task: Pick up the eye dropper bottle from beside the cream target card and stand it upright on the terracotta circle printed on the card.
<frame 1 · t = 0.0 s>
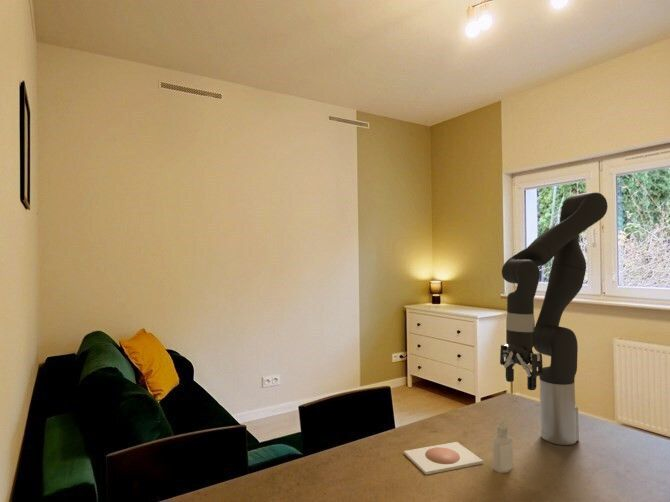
hand: (520, 385, 118), 17 cm above the table, tool pointing down, fingers open, 8 cm apart
target card: (442, 458, 112), on the table
eye dropper bottle: (503, 469, 106), on the table
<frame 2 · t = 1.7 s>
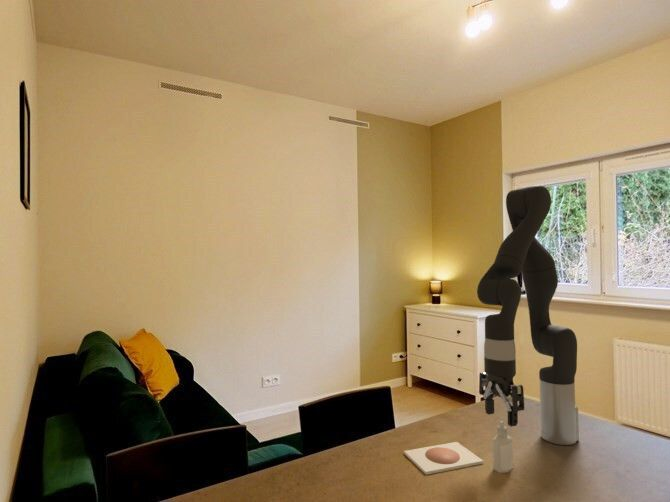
hand: (500, 419, 106), 13 cm above the table, tool pointing down, fingers open, 8 cm apart
nothing on the table moved.
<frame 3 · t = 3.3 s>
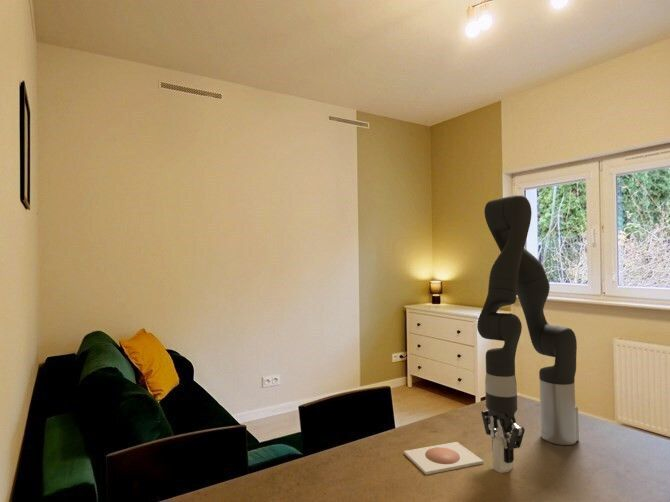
hand: (502, 457, 106), 3 cm above the table, tool pointing down, fingers closed on eye dropper bottle, 3 cm apart
eye dropper bottle: (503, 469, 106), on the table, touching gripper
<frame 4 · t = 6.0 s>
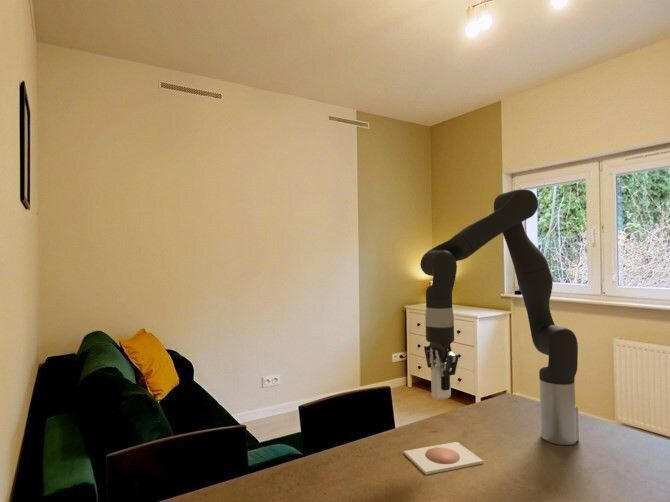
hand: (441, 387, 112), 19 cm above the table, tool pointing down, fingers closed on eye dropper bottle, 3 cm apart
eye dropper bottle: (441, 398, 112), point 16 cm above the table, touching gripper
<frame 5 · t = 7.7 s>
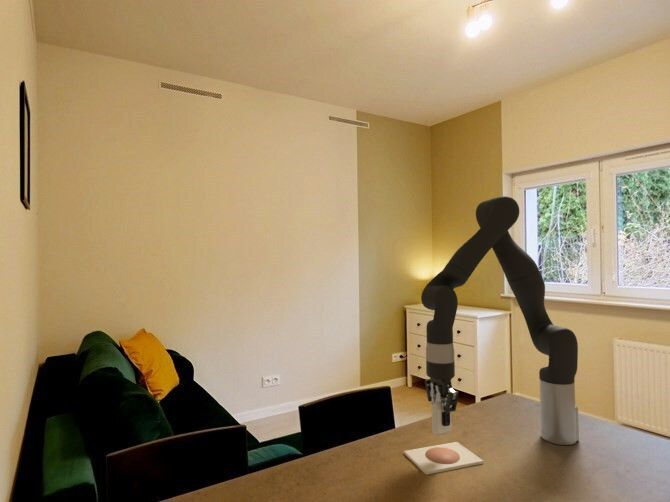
hand: (441, 422, 112), 10 cm above the table, tool pointing down, fingers closed on eye dropper bottle, 3 cm apart
eye dropper bottle: (441, 433, 112), point 7 cm above the table, touching gripper
when the fingers open (5 cm above the table, at t = 9.0 s): eye dropper bottle drops 1 cm, resting on target card.
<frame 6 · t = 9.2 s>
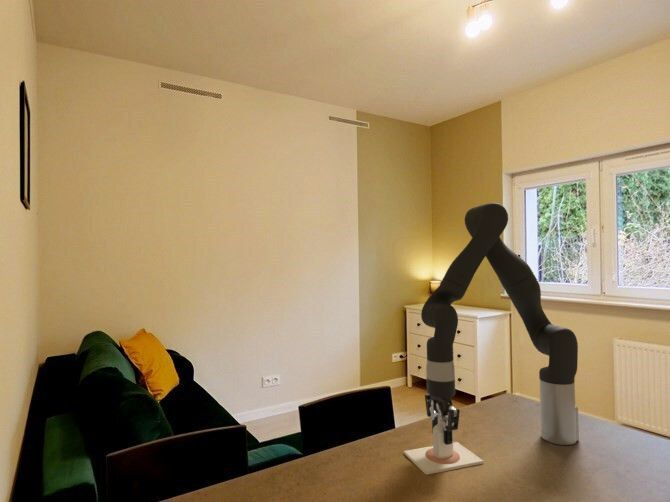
hand: (442, 439, 112), 5 cm above the table, tool pointing down, fingers open, 5 cm apart
eye dropper bottle: (443, 456, 111), point 1 cm above the table, touching target card
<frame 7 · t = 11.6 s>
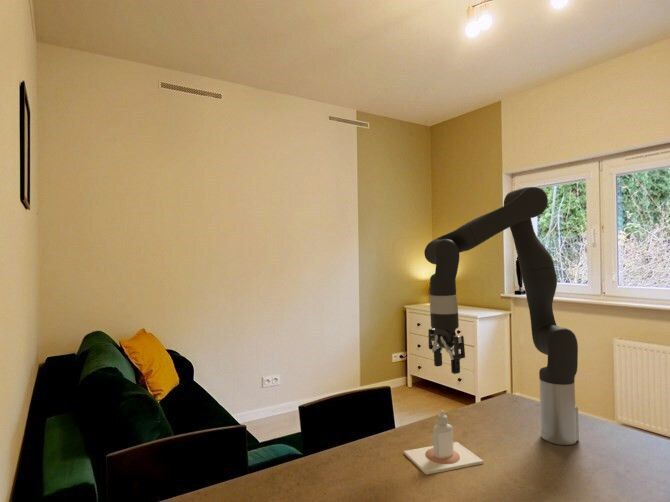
hand: (446, 369, 115), 23 cm above the table, tool pointing down, fingers open, 8 cm apart
nothing on the table moved.
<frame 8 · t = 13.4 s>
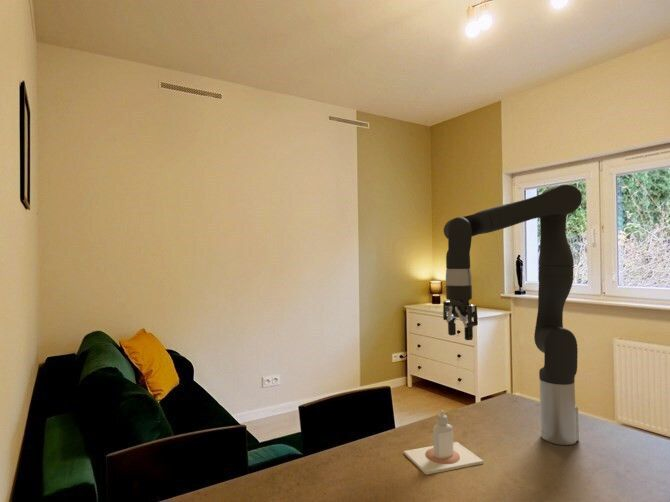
hand: (460, 337, 125), 30 cm above the table, tool pointing down, fingers open, 8 cm apart
nothing on the table moved.
at the end: eye dropper bottle inside the target area on the target card (0.4 cm from its centre), point 0.7 cm above the target card's base; eye dropper bottle tilted 0°; the gripper is holding nothing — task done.
